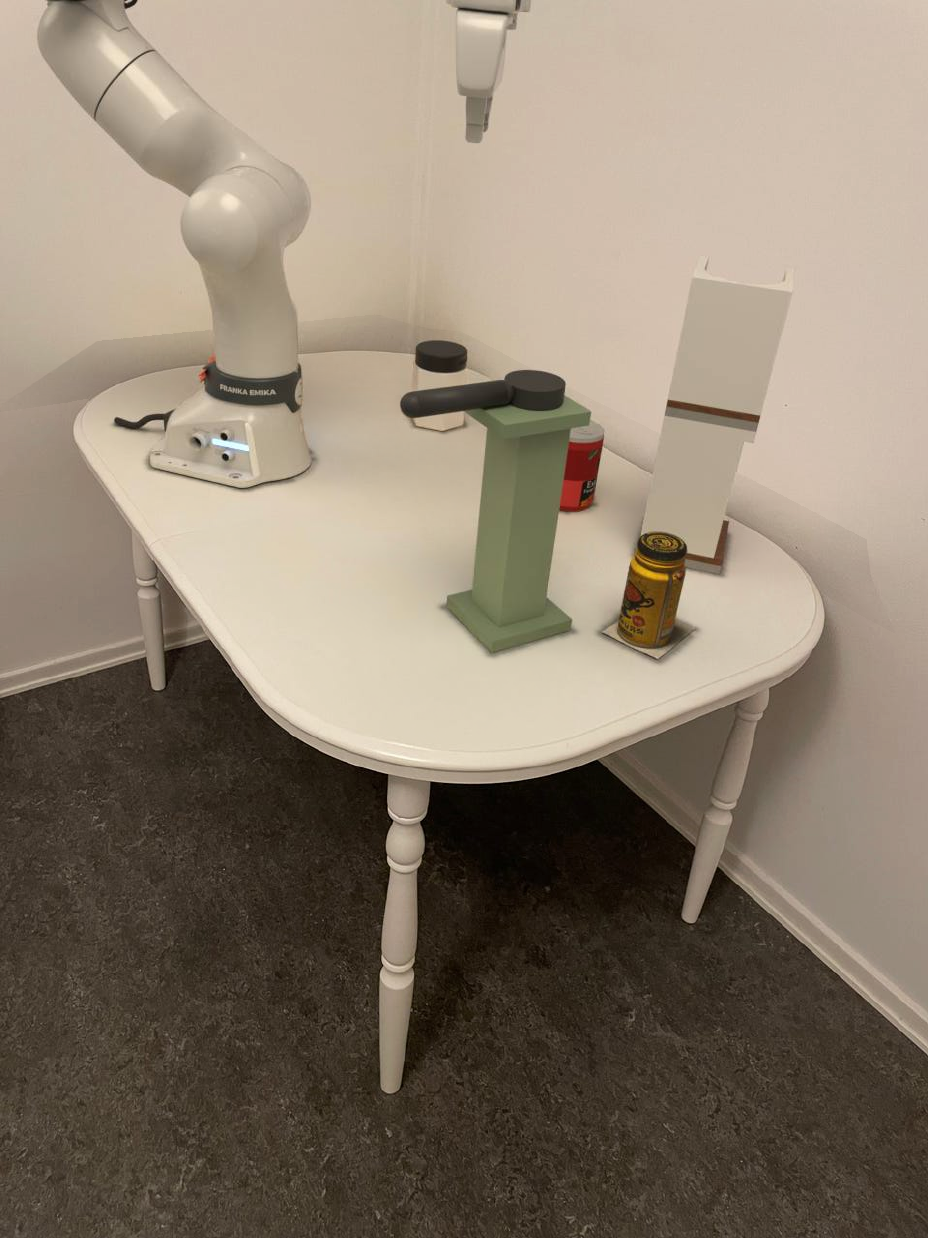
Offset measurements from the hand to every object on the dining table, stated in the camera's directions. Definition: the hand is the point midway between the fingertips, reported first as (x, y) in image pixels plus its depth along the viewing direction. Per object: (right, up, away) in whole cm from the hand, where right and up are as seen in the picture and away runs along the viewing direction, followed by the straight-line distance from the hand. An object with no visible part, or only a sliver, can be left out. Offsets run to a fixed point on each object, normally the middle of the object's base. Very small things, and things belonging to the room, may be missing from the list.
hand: (476, 136), depth 107 cm
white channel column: (+27, -44, +20) cm, 56 cm away
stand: (+2, -54, +2) cm, 54 cm away
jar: (-6, -22, +49) cm, 54 cm away
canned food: (+13, -37, +29) cm, 49 cm away
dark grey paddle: (0, -34, -15) cm, 37 cm away
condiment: (+19, -55, +2) cm, 59 cm away
